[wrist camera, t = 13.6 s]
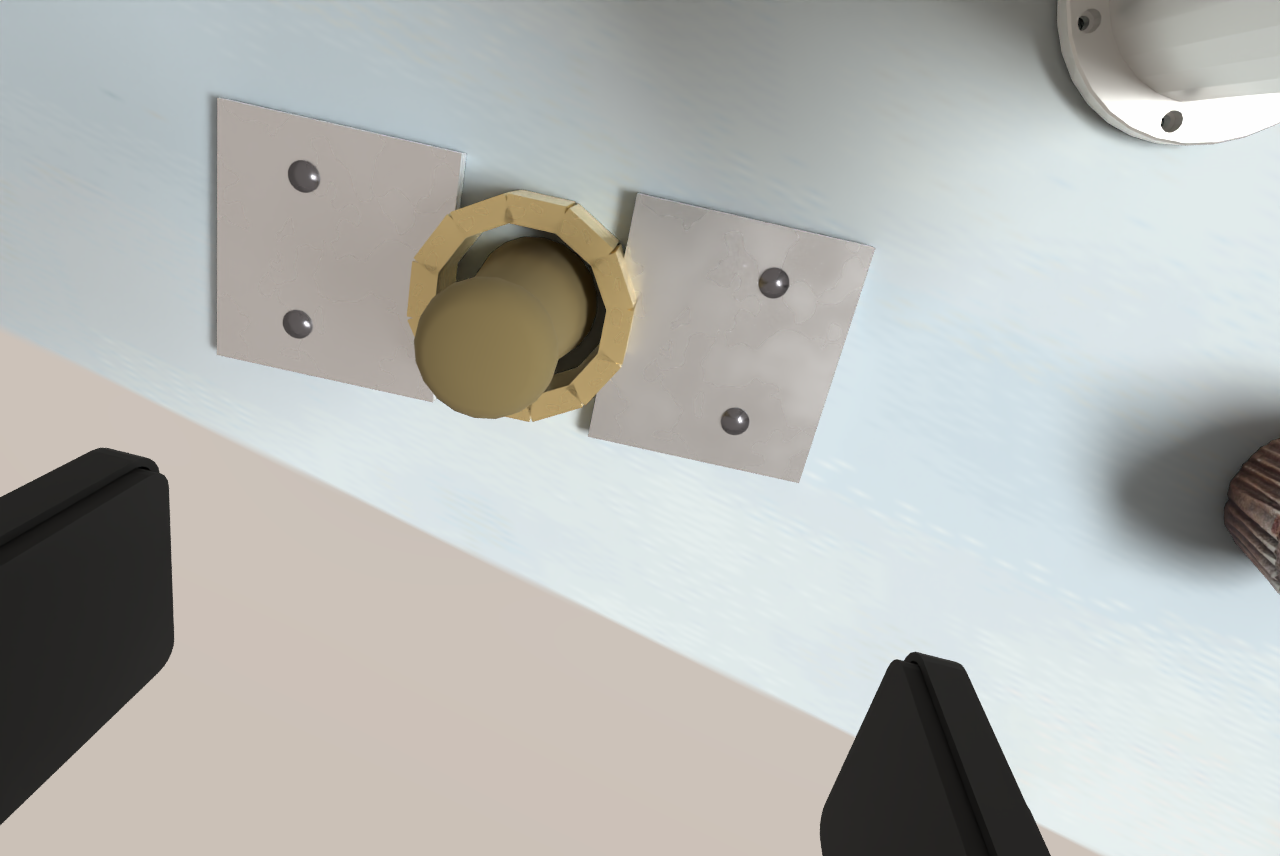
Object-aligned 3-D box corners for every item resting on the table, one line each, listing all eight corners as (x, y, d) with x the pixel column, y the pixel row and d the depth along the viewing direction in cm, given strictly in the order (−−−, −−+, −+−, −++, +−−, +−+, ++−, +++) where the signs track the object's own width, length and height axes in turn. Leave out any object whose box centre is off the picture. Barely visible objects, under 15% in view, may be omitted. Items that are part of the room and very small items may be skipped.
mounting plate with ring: (227, 98, 33) (185, 94, 30) (871, 246, 34) (887, 254, 31) (226, 350, 37) (189, 366, 35) (796, 476, 38) (805, 502, 35)
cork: (454, 323, 36) (363, 391, 26) (506, 212, 34) (428, 239, 24) (563, 381, 37) (515, 470, 27) (619, 276, 35) (592, 329, 25)
